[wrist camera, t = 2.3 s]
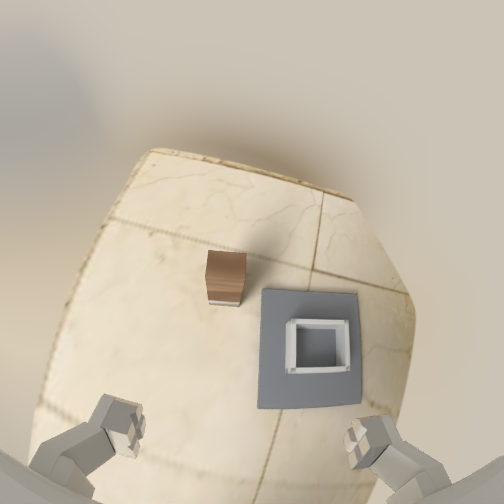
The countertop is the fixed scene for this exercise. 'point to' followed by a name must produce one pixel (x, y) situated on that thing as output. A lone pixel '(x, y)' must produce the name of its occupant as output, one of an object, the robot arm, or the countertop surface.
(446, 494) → the robot arm
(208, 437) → the countertop surface
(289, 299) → the grey socket base
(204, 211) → the countertop surface
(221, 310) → the countertop surface
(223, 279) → the block
